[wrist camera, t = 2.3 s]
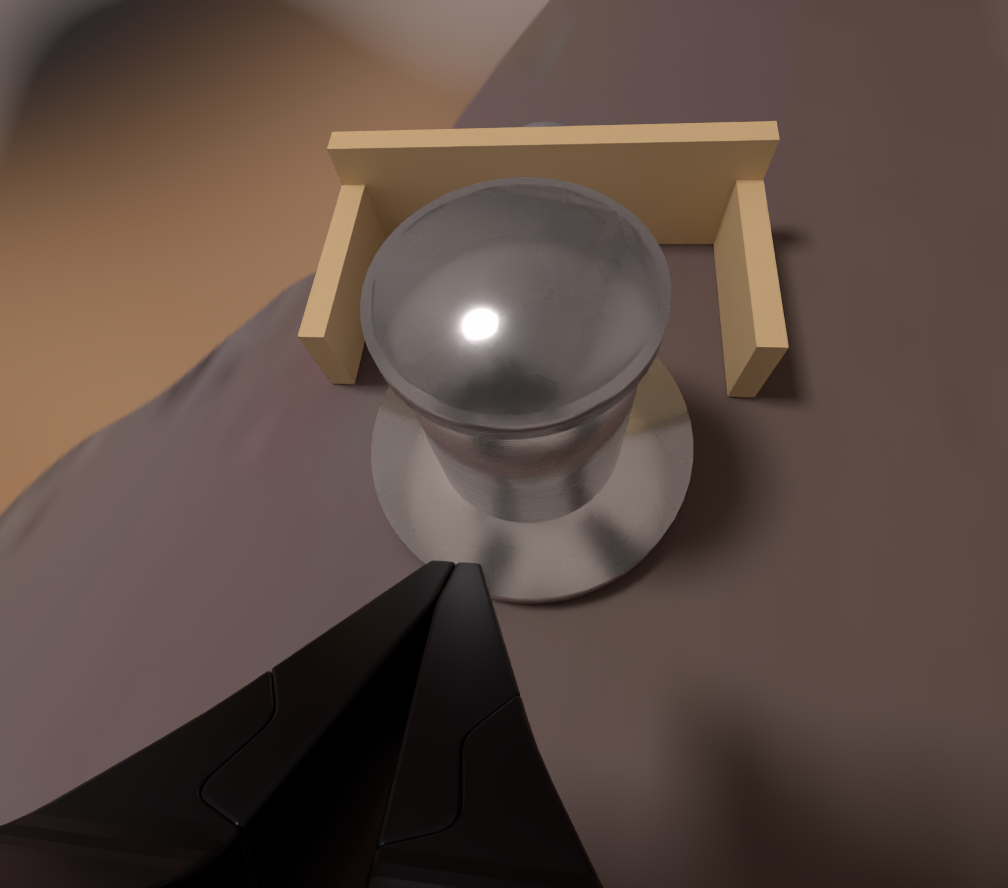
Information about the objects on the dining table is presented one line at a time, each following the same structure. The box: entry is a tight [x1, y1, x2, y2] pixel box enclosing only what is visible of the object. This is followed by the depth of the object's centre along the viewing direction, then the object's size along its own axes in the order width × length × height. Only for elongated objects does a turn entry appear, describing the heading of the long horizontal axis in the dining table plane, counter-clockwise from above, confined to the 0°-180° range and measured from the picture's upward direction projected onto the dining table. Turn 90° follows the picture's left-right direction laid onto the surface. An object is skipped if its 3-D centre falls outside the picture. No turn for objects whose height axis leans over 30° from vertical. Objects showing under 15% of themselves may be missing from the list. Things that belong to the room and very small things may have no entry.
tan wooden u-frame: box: [298, 121, 789, 397], centre depth 25 cm, size 11×20×6 cm, turn 85°
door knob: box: [360, 177, 693, 604], centre depth 20 cm, size 14×14×11 cm
